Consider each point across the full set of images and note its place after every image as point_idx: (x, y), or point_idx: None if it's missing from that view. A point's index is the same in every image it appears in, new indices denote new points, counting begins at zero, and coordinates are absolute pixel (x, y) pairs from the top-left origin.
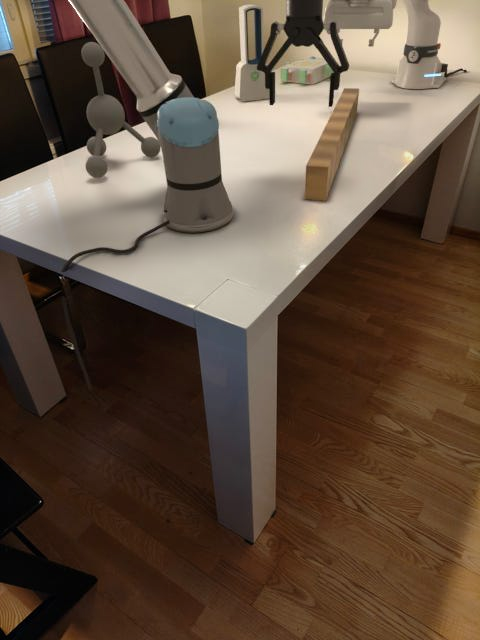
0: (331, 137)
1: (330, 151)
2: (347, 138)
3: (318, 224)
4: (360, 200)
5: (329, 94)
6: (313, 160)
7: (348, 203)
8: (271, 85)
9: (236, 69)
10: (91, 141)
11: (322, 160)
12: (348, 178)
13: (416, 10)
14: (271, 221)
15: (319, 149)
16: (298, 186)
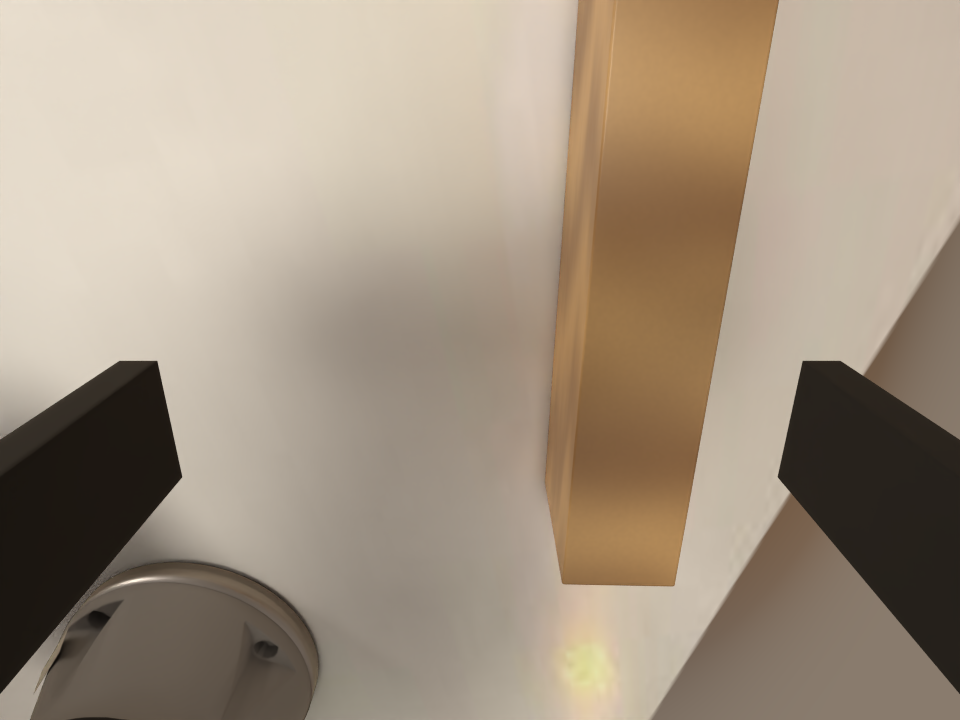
0: (699, 79)
1: (688, 379)
2: None
3: (613, 643)
4: (773, 461)
5: (849, 559)
6: (594, 520)
7: (722, 492)
8: (32, 631)
9: None
10: None
11: (643, 513)
12: (740, 231)
13: None
14: (454, 645)
15: (617, 354)
16: (497, 363)
